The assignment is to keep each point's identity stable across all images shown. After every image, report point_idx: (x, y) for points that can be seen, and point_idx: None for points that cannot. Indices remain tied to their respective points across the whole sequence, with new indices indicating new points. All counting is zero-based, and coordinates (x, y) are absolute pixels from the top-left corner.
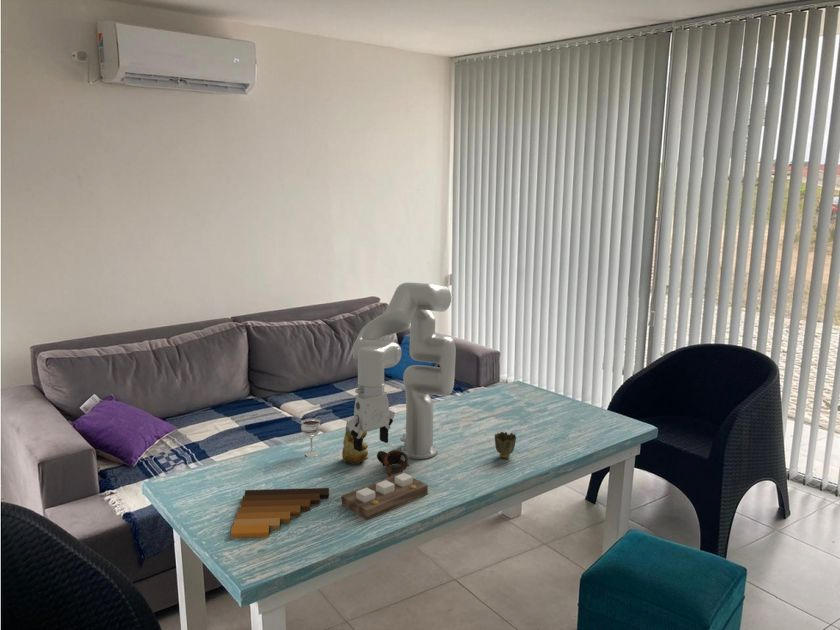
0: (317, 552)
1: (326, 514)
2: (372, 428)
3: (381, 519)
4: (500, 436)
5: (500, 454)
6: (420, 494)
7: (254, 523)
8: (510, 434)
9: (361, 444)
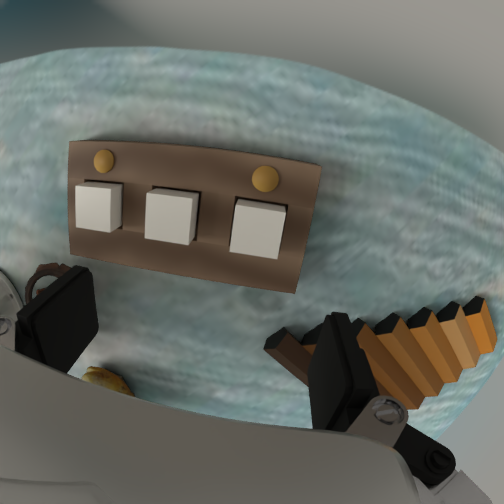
0: (486, 170)
1: (355, 274)
2: (239, 439)
3: (286, 130)
4: None
5: None
6: (104, 140)
7: (471, 339)
8: None
9: (349, 346)
